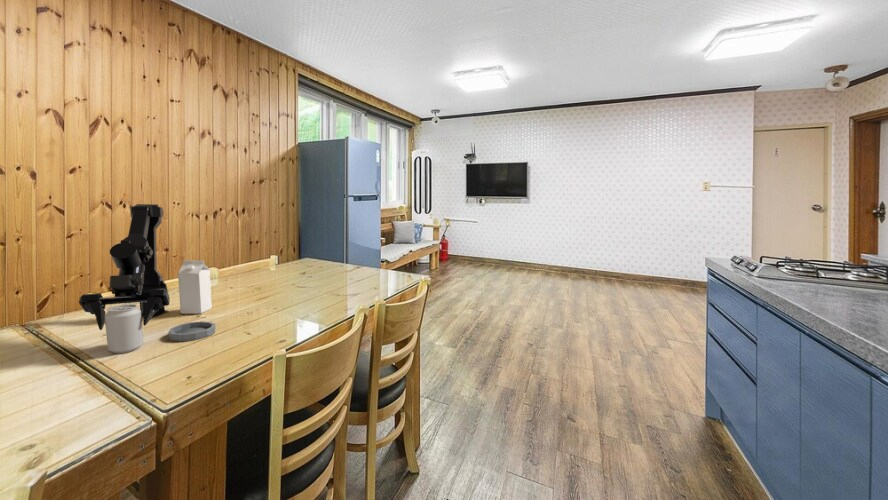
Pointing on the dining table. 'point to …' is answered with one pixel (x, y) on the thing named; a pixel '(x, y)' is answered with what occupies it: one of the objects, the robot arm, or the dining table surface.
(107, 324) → the can
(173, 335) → the ring coaster
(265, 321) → the dining table surface
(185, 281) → the milk carton
